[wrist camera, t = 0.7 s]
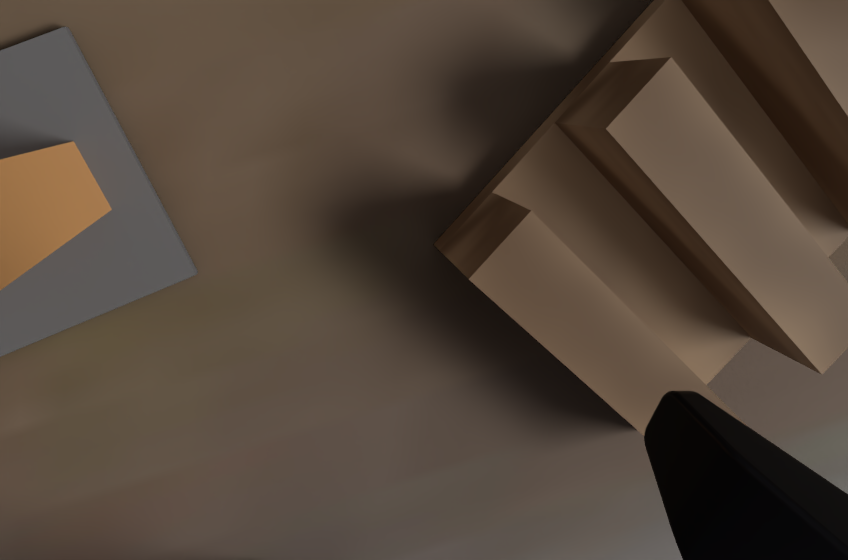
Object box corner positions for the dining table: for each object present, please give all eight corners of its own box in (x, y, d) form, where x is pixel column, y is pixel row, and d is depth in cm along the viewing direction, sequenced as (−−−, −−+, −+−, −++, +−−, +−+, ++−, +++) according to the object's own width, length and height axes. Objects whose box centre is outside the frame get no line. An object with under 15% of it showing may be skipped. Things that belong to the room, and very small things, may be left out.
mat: (197, 271, 24) (196, 274, 23) (-40, 370, 23) (-45, 375, 22) (68, 27, 21) (64, 26, 20) (-211, 131, 20) (-220, 132, 19)
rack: (640, 430, 30) (707, 492, 26) (433, 244, 25) (468, 279, 21) (881, 178, 29) (997, 194, 25) (713, -67, 24) (817, -104, 20)
